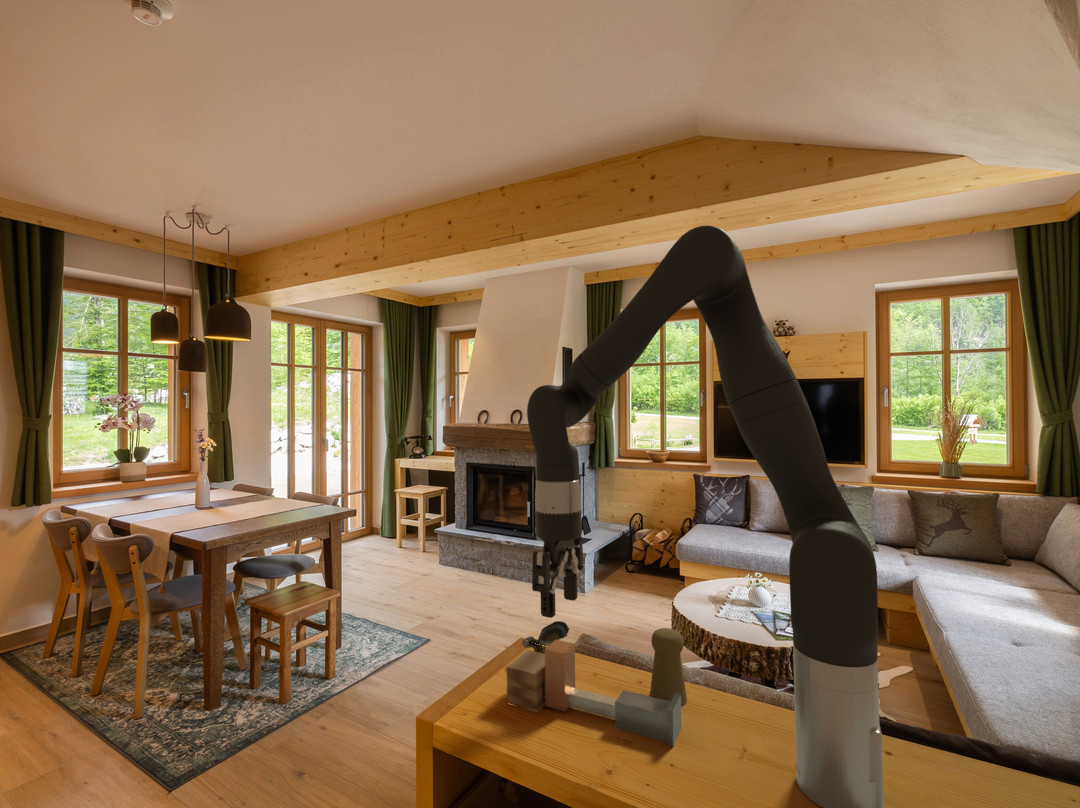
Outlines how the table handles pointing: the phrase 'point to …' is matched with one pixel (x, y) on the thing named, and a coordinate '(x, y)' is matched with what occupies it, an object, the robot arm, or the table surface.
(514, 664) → the socket block
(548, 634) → the eagle figurine
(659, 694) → the olive green pawn
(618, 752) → the table surface
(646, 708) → the sleeve
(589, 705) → the bar
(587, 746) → the table surface
